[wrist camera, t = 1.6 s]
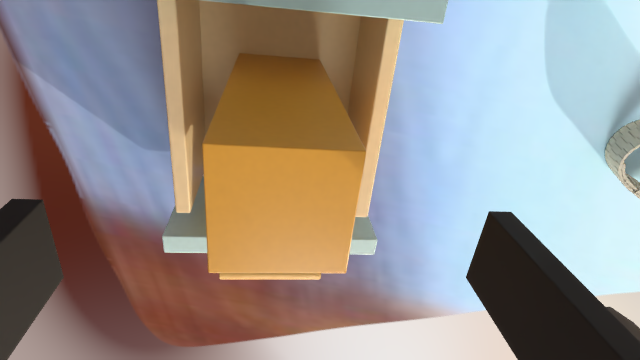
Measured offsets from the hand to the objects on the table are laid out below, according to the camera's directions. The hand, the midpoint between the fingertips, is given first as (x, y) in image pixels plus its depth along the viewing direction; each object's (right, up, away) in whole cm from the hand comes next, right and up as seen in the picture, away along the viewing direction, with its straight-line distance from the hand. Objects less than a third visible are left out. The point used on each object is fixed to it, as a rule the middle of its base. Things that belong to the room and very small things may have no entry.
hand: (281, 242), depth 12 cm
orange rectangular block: (-2, +7, +13) cm, 15 cm away
